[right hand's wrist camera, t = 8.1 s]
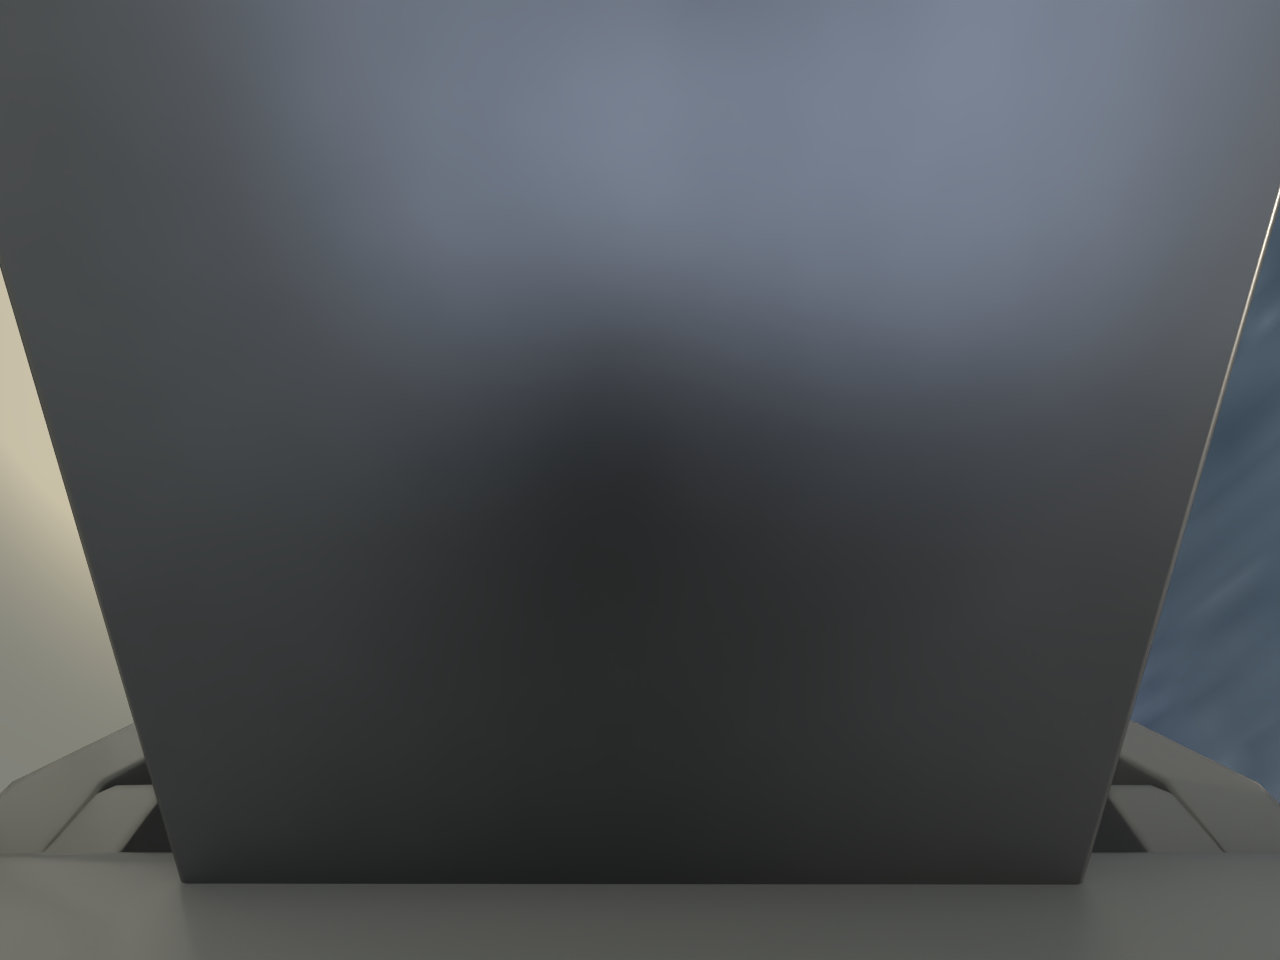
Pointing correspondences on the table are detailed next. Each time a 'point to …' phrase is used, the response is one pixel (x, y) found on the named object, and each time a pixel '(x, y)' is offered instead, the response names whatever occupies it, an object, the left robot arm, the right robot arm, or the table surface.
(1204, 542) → the table surface
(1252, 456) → the table surface
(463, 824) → the bar
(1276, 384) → the table surface
